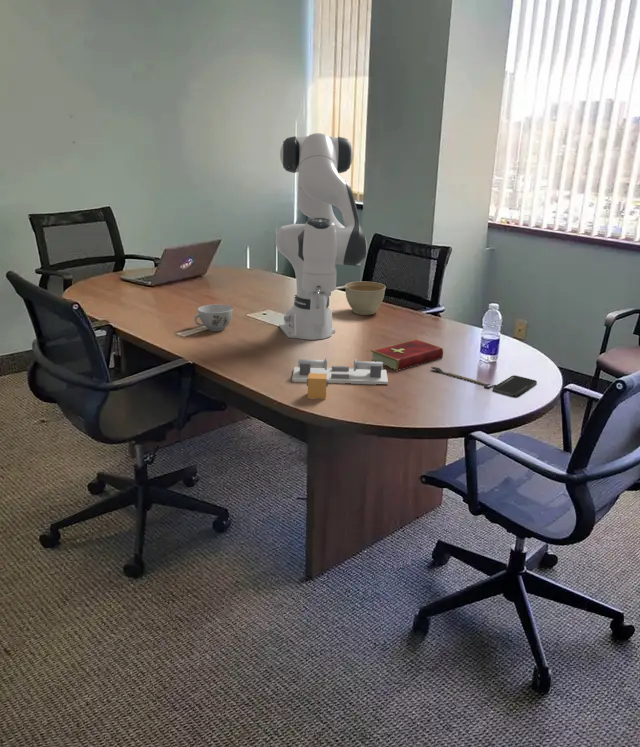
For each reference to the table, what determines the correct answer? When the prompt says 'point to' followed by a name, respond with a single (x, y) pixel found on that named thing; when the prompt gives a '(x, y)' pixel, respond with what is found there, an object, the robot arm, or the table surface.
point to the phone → (514, 386)
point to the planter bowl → (364, 296)
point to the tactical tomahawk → (463, 378)
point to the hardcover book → (407, 354)
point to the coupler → (317, 385)
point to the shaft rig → (342, 372)
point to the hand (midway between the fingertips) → (318, 333)
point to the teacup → (214, 316)
